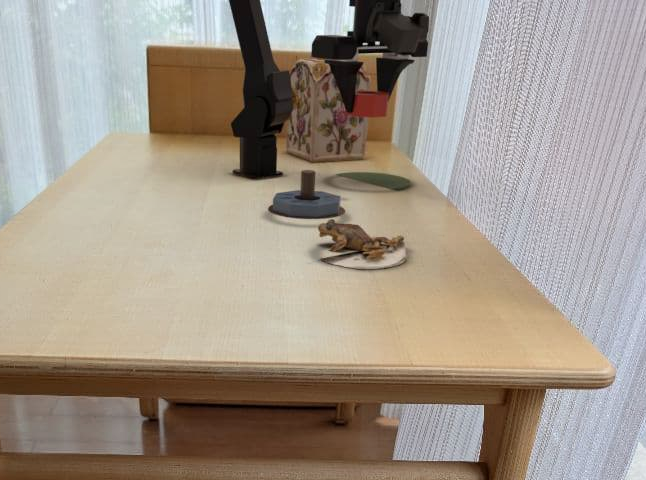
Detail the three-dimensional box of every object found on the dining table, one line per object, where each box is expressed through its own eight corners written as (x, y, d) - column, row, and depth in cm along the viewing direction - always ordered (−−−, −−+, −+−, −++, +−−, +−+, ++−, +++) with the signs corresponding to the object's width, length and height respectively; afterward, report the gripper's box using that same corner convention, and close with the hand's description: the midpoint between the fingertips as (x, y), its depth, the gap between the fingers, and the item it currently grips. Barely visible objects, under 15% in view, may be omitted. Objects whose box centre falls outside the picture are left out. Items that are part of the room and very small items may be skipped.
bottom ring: (261, 206, 116) (261, 195, 115) (311, 199, 121) (311, 187, 120) (301, 220, 110) (302, 207, 109) (352, 211, 115) (353, 199, 114)
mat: (309, 179, 138) (309, 177, 137) (370, 171, 145) (370, 169, 144) (365, 195, 128) (366, 192, 128) (428, 185, 135) (428, 183, 135)
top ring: (336, 113, 128) (338, 91, 126) (367, 110, 131) (369, 89, 129) (364, 118, 123) (365, 95, 122) (395, 115, 127) (397, 93, 125)
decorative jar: (311, 163, 150) (316, 49, 140) (283, 152, 159) (287, 44, 149) (367, 159, 154) (376, 48, 144) (337, 149, 163) (344, 44, 153)
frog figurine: (307, 266, 96) (309, 232, 94) (319, 240, 106) (320, 208, 103) (405, 272, 94) (409, 238, 92) (408, 245, 104) (411, 214, 102)
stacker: (252, 213, 117) (252, 168, 113) (311, 204, 122) (313, 161, 119) (300, 230, 110) (302, 182, 106) (361, 219, 115) (364, 174, 112)
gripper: (364, -9, 108) (354, 122, 117) (461, -8, 117) (445, 114, 126) (311, -11, 116) (306, 112, 124) (407, -10, 125) (396, 105, 133)
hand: (365, 111), depth 127 cm, fingers closed on top ring, 6 cm apart
